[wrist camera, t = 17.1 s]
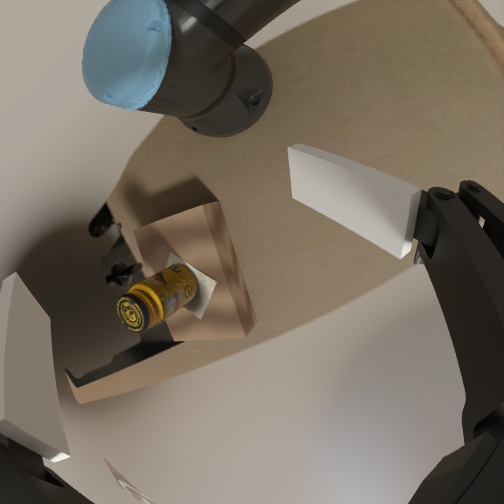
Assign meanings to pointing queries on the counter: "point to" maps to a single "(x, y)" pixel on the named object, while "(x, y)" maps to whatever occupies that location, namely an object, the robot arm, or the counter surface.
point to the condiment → (165, 295)
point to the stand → (206, 261)
